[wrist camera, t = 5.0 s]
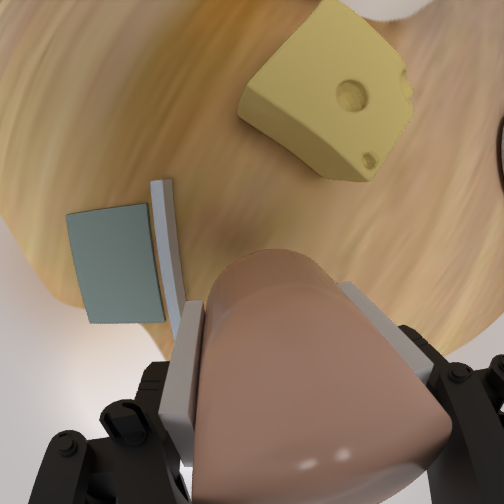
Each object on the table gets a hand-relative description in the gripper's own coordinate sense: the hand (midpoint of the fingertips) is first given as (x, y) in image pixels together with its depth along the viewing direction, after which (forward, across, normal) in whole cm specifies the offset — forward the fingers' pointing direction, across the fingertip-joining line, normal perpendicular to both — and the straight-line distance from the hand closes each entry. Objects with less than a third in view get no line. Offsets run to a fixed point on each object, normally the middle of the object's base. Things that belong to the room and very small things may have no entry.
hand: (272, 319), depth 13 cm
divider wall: (+15, -7, -1) cm, 16 cm away
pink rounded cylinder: (0, 0, 0) cm, 0 cm away
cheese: (+15, +7, +12) cm, 21 cm away
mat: (+15, -14, -1) cm, 20 cm away
